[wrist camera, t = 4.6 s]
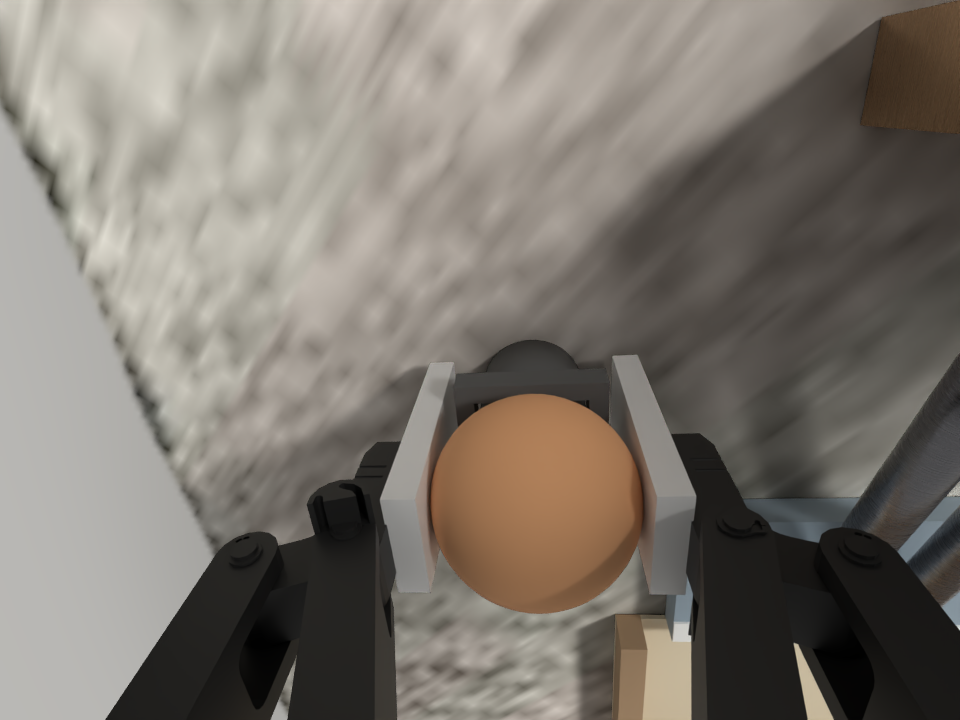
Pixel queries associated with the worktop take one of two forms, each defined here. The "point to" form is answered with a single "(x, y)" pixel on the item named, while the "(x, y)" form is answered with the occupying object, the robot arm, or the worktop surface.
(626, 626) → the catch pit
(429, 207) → the worktop surface
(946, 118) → the ramp
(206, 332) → the worktop surface
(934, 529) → the block
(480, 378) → the tee
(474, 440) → the ball
